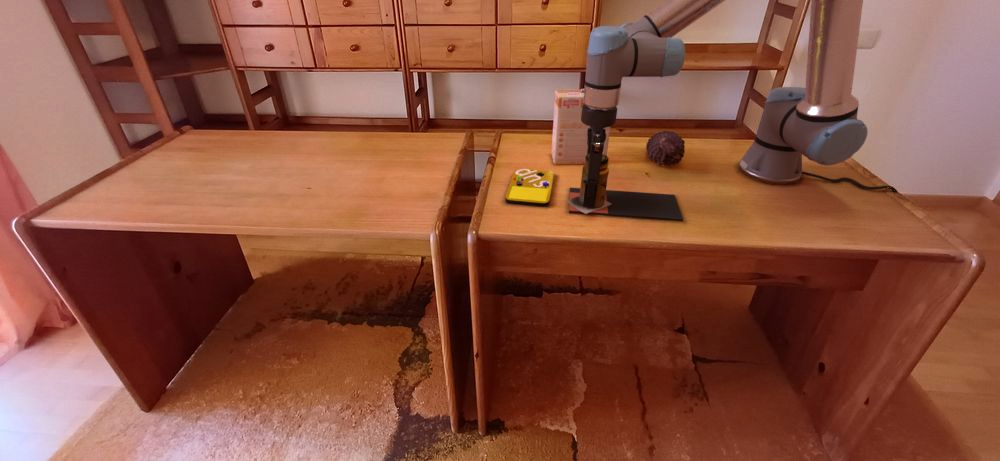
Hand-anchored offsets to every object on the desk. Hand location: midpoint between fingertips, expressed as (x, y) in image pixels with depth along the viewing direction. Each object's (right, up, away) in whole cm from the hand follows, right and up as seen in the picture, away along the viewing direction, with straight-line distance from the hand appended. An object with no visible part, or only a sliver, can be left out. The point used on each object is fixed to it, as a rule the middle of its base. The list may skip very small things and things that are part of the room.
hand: (588, 199), depth 115 cm
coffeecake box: (+1, +13, +23) cm, 27 cm away
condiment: (0, -1, 0) cm, 1 cm away
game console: (-13, +3, +8) cm, 16 cm away
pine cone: (+25, +12, +22) cm, 36 cm away
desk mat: (+9, -1, +1) cm, 9 cm away
